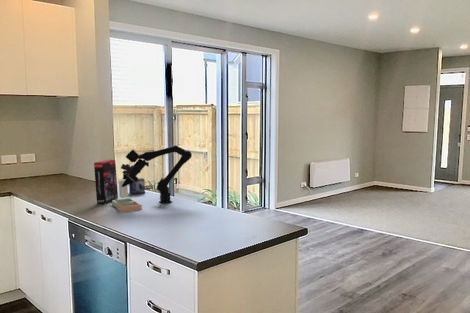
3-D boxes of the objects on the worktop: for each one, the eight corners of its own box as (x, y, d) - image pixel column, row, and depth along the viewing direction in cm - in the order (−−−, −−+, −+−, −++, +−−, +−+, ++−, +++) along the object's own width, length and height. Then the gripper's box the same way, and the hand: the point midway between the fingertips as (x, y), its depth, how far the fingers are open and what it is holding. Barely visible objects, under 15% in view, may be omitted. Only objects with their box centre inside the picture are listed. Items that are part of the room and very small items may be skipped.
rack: (141, 209, 241) (141, 204, 241) (122, 212, 235) (121, 207, 235) (130, 202, 261) (130, 197, 261) (112, 204, 255) (112, 200, 255)
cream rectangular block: (125, 195, 256) (125, 178, 254) (127, 197, 251) (127, 180, 250) (119, 196, 254) (118, 179, 253) (121, 198, 249) (120, 180, 248)
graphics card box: (105, 204, 256) (103, 162, 253) (95, 204, 257) (93, 162, 254) (118, 198, 272) (116, 159, 269) (109, 198, 274) (107, 159, 271)
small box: (130, 194, 286) (129, 180, 285) (129, 193, 292) (128, 179, 291) (145, 193, 290) (144, 179, 289) (143, 191, 296) (143, 178, 295)
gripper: (125, 157, 260) (108, 175, 256) (132, 160, 243) (114, 180, 239) (137, 168, 264) (121, 186, 260) (145, 172, 248) (128, 191, 244)
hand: (121, 186), depth 251 cm, fingers closed on cream rectangular block, 5 cm apart
